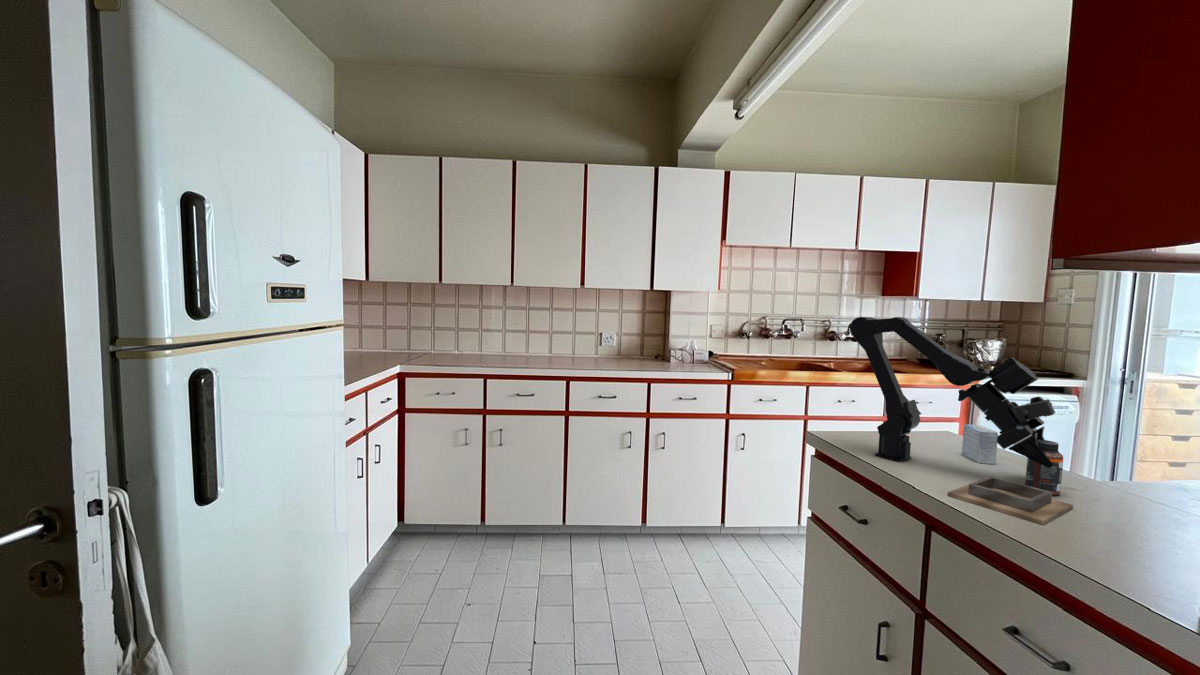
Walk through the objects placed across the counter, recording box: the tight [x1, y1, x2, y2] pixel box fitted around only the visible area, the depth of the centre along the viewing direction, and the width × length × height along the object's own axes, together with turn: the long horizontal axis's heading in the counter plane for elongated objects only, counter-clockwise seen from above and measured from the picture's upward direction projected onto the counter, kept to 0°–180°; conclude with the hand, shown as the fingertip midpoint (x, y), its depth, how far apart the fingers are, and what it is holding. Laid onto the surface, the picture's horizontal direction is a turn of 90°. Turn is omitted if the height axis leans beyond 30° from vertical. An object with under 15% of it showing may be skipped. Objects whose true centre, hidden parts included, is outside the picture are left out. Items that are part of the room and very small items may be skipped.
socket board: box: [947, 475, 1074, 526], centre depth 104 cm, size 16×16×3 cm
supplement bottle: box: [1024, 439, 1064, 496], centre depth 111 cm, size 6×6×11 cm
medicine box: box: [961, 424, 999, 465], centre depth 134 cm, size 8×4×9 cm, turn 170°
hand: (1053, 464), depth 110 cm, fingers closed on supplement bottle, 6 cm apart
